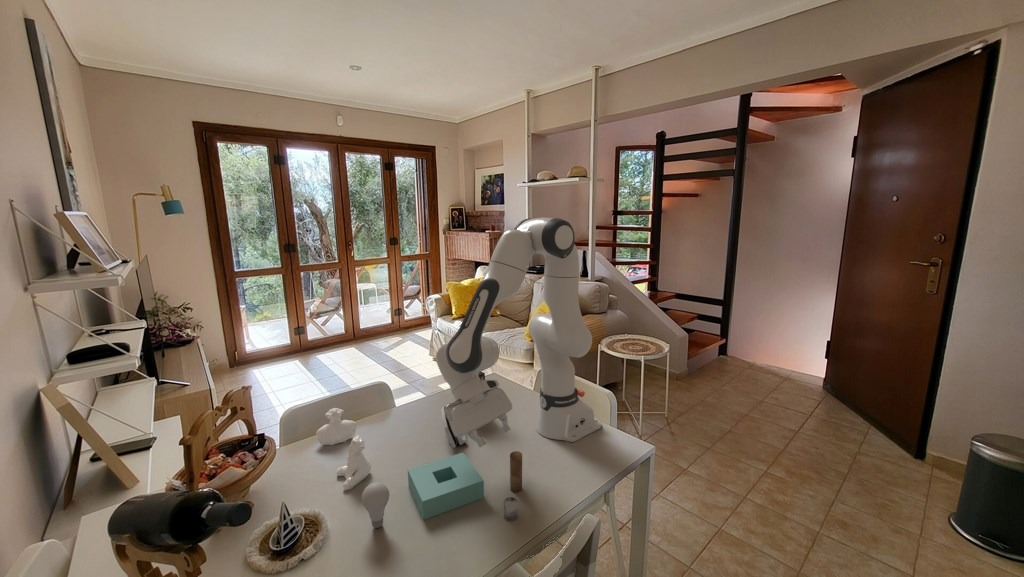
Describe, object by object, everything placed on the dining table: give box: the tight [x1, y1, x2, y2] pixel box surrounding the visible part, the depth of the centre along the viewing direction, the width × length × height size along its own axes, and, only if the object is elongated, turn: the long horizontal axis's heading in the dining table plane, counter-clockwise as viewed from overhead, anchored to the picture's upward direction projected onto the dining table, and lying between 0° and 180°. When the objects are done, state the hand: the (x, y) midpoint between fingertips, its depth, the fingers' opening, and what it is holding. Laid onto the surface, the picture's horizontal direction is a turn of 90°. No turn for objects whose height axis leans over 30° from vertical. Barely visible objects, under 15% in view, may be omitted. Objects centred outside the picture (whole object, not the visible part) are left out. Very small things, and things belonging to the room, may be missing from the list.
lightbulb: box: [361, 481, 390, 529], centre depth 94 cm, size 6×6×11 cm
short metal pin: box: [503, 496, 518, 522], centre depth 98 cm, size 3×3×4 cm
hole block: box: [407, 452, 485, 521], centre depth 106 cm, size 16×14×5 cm
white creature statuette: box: [336, 434, 372, 492], centre depth 112 cm, size 10×9×12 cm
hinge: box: [440, 405, 469, 449], centre depth 134 cm, size 17×5×10 cm, turn 13°
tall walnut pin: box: [509, 450, 523, 494], centre depth 107 cm, size 3×3×10 cm
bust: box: [315, 407, 357, 446], centre depth 132 cm, size 12×8×11 cm
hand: (495, 438), depth 110 cm, fingers open, 8 cm apart
